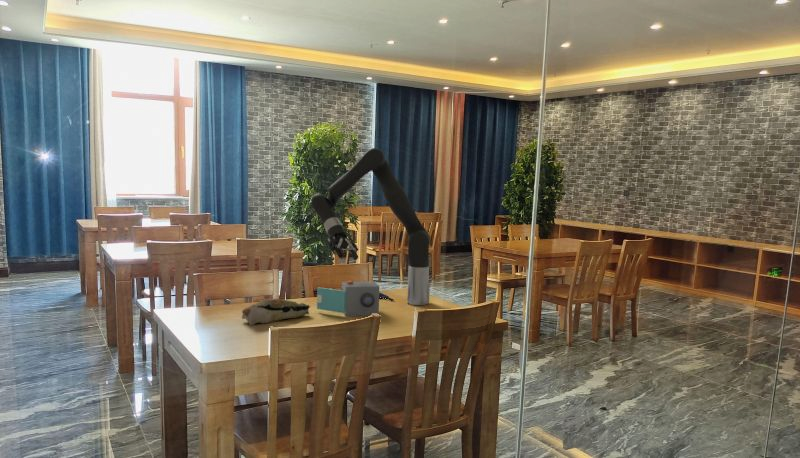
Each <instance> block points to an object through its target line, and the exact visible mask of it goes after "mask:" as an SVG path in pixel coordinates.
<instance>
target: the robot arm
mask: <svg viewBox="0 0 800 458" xmlns="http://www.w3.org/2000/svg"><path fill="white" fill-rule="evenodd" d="M370 172H372V173H373V175H374V176H375V178H376V179H377V181H378V183H379V185H380V189H381V192H382V194H383V196H384V199H385V201H386V203H387V205H388V207H389V208H390V210H391V212H392V213H393V214H394V216H395V217H396V218H397V219H398V220H399V222H401V224H402V225H403V227H404V228H405V230H406V233H407V235H408V237H409V238H408V242H407V243H408V246H407V261H408V267H407V268H408V272H407V275H408V276H407V300H406V301H407V304H408V303H409V304H408V305H412V306H425V305H430V292H431V291H430V287H431V284H430V283H429V276H430V272H429V271H430V259H429V255H430V254H429V250H430V244H431V236H430V234H429V233H428V231H427V230H426V229H425V227H424V225H423V224H422V222H421V221H420V219H419V218H418V216H417V214H416V212H415V209H414V207H413V205H412V203H411V201H410V199H409V197H408V195H407V193H406V192H405V190H404V189H403V187H402V185H401V184H400V181H398V179H397V178H396V177H395V175H394V174H393V172H392V170H391V167H390V165H389V163H388V161H387V159H386V156H385V153H384V152H383V151H382V150H381V149H379V148H376V147H375V148H374V147H373V148H370V149H368V150H366V152H365V153H364V154H363V155H362V157H361V158H360V159H359V160H358V161H357V162H356V163H355V164H354V165H353V166H352V167H351V168H350V169H349V170H347V171H346V173H344V174H343V175H341V176H340V177H339V178H338V179H337V180H336V181H334V182H333V183H332V184H331V185H330V186H329V187H328V188H327V191H328V193H329V194H328V195H327V196H325V195H324V194H322V193H315V194H313V196H312V197H311V199H310V200H311V201H310V202H311V206H312V208H313V210H314V211H315V212H316V214H317V215H318V217H319V218H320V220H321V222H322V225H323V226H324V227H323V228H324V230H325V232H326V234H327V236H328V238H327V239H326V242H327V245H328V246H329V249H330V250H331V251H334V252H335V253H336V255H337V257H338V258H339V259H342V258H343V257H344V253H343V251H342V250H345V251H346V252H349V253H350V254H351V257H352V258H353V260H354V261H357V260H358V259H359V255H358V251H359V247H358V246H357V244H356V242H355V240H353V239H351V240H349V239H348V238H347V235H348V234H347V232H346V230H345V228H344V226H343V224H342V222H341V221H340V219H339V217H338V216H337V214H336V212H335V211H334V210H333V208H334V207H335V206H336V204H338V202H339V200H340V199H341V198H342V197H344V195H345V194H347V193H348V192H349V191H350V190H351V189H352V188H353V187H354V186H355V185H356V184H357V183H358V182H359V181H360V180H361V179H362V178H363V177H364V176H366V175H367V174H369V173H370Z"/></svg>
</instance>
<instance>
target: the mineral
mask: <svg viewBox="0 0 800 458" xmlns="http://www.w3.org/2000/svg"><path fill="white" fill-rule="evenodd" d="M310 308H311V306H310V305H309V304H306V303H304V302H300V303H298V302H297V301H293V300H287V299H280V298H273V299H271V298H264V299H261V300H259V301H258V302H257V303H253V304H252V305H250V306H246V307H245V308H244V309H242V310H241V313H242V316H241V318H242V320H246V321H247V322H248V324H249V325H250V326H253V325H255V324H258V323H262V324H264V323H265V324H269V323H271V322H275V321H276V322H277V321H281V320H288V319H295V318H301V317H304V316H306V315H309V314H310V313H309V312H310V311H309V309H310Z"/></svg>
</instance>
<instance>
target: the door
mask: <svg viewBox="0 0 800 458" xmlns="http://www.w3.org/2000/svg"><path fill="white" fill-rule="evenodd" d="M316 290H317V291H316V309H317V310H321V311H322V310H323V311H330V312H334V313H342V314H344V313H345V291H342V289H333V288H325V287H317V288H316Z"/></svg>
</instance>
